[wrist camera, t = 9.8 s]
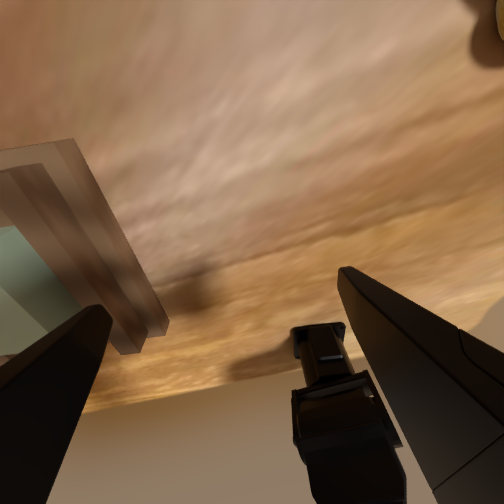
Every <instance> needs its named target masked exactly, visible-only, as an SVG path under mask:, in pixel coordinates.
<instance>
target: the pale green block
mask: <svg viewBox="0 0 504 504" xmlns="http://www.w3.org/2000/svg"><path fill="white" fill-rule="evenodd" d="M82 309H83V308H82V307H81V306H80V304H79V303H78V302H77V301H76V300H75V298H74V297H73V296H72V295H71V293H70V292H69V291H68V290H67V289H66V287H65V286H64V285H63V284H62V282H61V281H60V280H59V279H58V278H57V276H56V275H55V274H54V273H53V272H52V270H51V269H50V268H49V267H48V265H47V264H46V263H45V262H44V261H43V259H42V258H41V257H40V256H39V254H38V253H37V252H36V251H35V250H34V248H33V247H32V246H31V245H30V244H29V242H28V241H27V240H26V239H25V237H24V236H23V235H22V234H21V233H20V231H19V230H18V229H17V228H16V227H15V226H8V227H1V228H0V356H2V355H10V354H18V353H20V352H22V351H23V350H24V349H26V348H27V347H29V346H30V345H32V344H33V343H35V342H36V341H37V340H39V339H40V338H42V337H43V336H45V335H46V334H48V333H49V332H51V331H52V330H53V329H55V328H56V327H58V326H59V325H61V324H62V323H64V322H65V321H66V320H68V319H69V318H71V317H72V316H74V315H75V314H77V313H78V312H79V311H81V310H82Z"/></svg>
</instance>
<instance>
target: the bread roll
mask: <svg viewBox="0 0 504 504" xmlns="http://www.w3.org/2000/svg"><path fill="white" fill-rule="evenodd" d="M496 20H497V26H498V32H499V34H500V37H501V39H502V40H503V41H504V0H497V2H496Z"/></svg>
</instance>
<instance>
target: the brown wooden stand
mask: <svg viewBox="0 0 504 504" xmlns="http://www.w3.org/2000/svg"><path fill="white" fill-rule="evenodd" d="M8 226H15V227H16V228H17V229H18V230H19V231H20V233H21V234H22V235H23V236H24V237H25V239H26V240H27V241H28V242H29V244H30V245H31V246H32V247H33V248H34V250H35V251H36V252H37V253H38V254H39V256H40V257H41V258H42V259H43V261H44V262H45V263H46V264H47V265H48V267H49V268H50V269H51V270H52V272H53V273H54V274H55V275H56V276H57V278H58V279H59V280H60V281H61V282H62V284H63V285H64V286H65V287H66V289H67V290H68V291H69V292H70V293H71V295H72V296H73V297H74V298H75V300H76V301H77V302H78V303H79V304H80V306H81V307H82V308H83V309H84V308H85V307H87V306H89V305H93V304H102V305H103V306H104V307H105V309H106V310H107V311H108V312H109V314H110V315H111V316H112V318H113V325H112V328H111V332H110V335H109V339H108V342H107V343H109V342H111V343H112V345H113V346H114V347H115V348H116V349H117V351H118V352H119V353H120V354H121V355H126V354H135V353H140V352H141V349H142V347H143V344H144V342H145V340H146V338H151V337H159V336H165V334H166V331H167V328H168V325H169V322H170V321H169V319H168V317H167V315H166V313H165V311H164V309H163V308H162V306H161V304H160V302H159V300H158V298H157V296H156V294H155V292H154V290H153V289H152V287H151V285H150V283H149V281H148V279H147V277H146V275H145V273H144V271H143V270H142V268H141V266H140V264H139V262H138V260H137V258H136V256H135V254H134V252H133V251H132V249H131V247H130V245H129V243H128V241H127V239H126V237H125V235H124V233H123V232H122V230H121V228H120V226H119V224H118V222H117V220H116V218H115V216H114V214H113V213H112V211H111V209H110V207H109V205H108V203H107V201H106V199H105V197H104V195H103V194H102V192H101V190H100V188H99V186H98V184H97V182H96V180H95V178H94V176H93V175H92V173H91V171H90V169H89V167H88V165H87V163H86V161H85V159H84V157H83V156H82V154H81V152H80V150H79V148H78V146H77V144H76V142H75V140H74V139H67V140H61V141H54V142H48V143H42V144H36V145H30V146H24V147H18V148H12V149H5V150H0V228H1V227H8ZM18 354H19V353H18ZM16 355H17V354H10V355H2V356H0V366H1V365H3V364H4V363H6V362H7V361H9V360H10V359H11V358H13V357H14V356H16Z"/></svg>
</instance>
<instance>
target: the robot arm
mask: <svg viewBox="0 0 504 504" xmlns="http://www.w3.org/2000/svg"><path fill="white" fill-rule="evenodd" d="M337 287H338V291H339V294H340V297H341V300H342V303H343V305H344V308H345V311H346V314H347V317H348V319H349V322H350V325H351V328H352V330H353V332H354V334H355V336H356V338H357V340H358V342H359V344H360V346H361V348H362V351H363V353H364V355H365V357H366V358H367V361H368V363H369V365H370V366H371V369H372V371H373V373H374V375H375V377H376V379H377V381H378V383H379V385H380V387H381V389H382V391H383V393H384V395H385V397H386V399H387V401H388V403H389V405H390V407H391V409H392V411H393V413H394V415H395V417H396V419H397V421H398V423H399V425H400V427H401V430H402V432H403V433H404V436H405V438H406V440H407V442H408V444H409V446H410V448H411V450H412V452H413V454H414V456H415V458H416V460H417V462H418V464H419V466H420V468H421V470H422V472H423V474H424V476H425V478H426V480H427V482H428V484H429V486H430V488H431V489H432V490H433V491H432V493H433V494H434V497H435V499H436V501H437V503H438V504H504V353H503V352H501V351H499V350H497V349H496V348H494V347H492V346H490V345H488V344H486V343H485V342H483V341H481V340H479V339H477V338H476V337H474V336H472V335H470V334H469V333H467V332H465V331H464V330H462V329H458V328H457V327H456V326H455V325H453V324H451V323H449V322H448V321H446V320H444V319H442V318H441V317H439V316H437V315H435V314H434V313H432V312H430V311H428V310H427V309H425V308H423V307H421V306H420V305H418V304H416V303H415V302H413V301H411V300H409V299H408V298H406V297H404V296H402V295H401V294H399V293H397V292H395V291H394V290H392V289H390V288H388V287H387V286H385V285H383V284H381V283H380V282H378V281H376V280H374V279H373V278H371V277H369V276H367V275H366V274H364V273H362V272H361V271H359V270H357V269H355V268H354V267H351V266H347V267H341V268H339V270H338V281H337ZM112 325H113V318H112V316H111V315H110V314H109V312H108V311H107V310H106V309H105V307H104V306H103V305H102V304H93V305H89V306H87V307H85V308H84V309H82V310H81V311H79V312H78V313H77V314H75V315H74V316H72V317H71V318H69V319H68V320H66V321H65V322H64V323H62V324H61V325H59V326H58V327H56V328H55V329H53V330H52V331H51V332H49V333H48V334H46V335H45V336H43V337H42V338H40V339H39V340H37V341H36V342H35V343H33V344H32V345H30V346H29V347H27V348H26V349H24V350H23V351H22V352H20V353H19V354H17V355H16V356H14V357H13V358H11V359H10V360H9V361H7V362H6V363H4V364H3V365H1V366H0V504H46V502H47V500H48V497H49V494H50V492H51V489H52V487H53V484H54V482H55V479H56V477H57V474H58V472H59V469H60V467H61V464H62V461H63V459H64V456H65V454H66V451H67V449H68V446H69V444H70V441H71V439H72V436H73V434H74V431H75V429H76V426H77V423H78V421H79V418H80V416H81V413H82V411H83V408H84V406H85V403H86V401H87V398H88V396H89V393H90V390H91V388H92V385H93V383H94V380H95V378H96V375H97V373H98V370H99V368H100V365H101V362H102V359H103V356H104V352H105V349H106V345H107V342H108V339H109V335H110V332H111V328H112ZM345 329H346V326H345V324H344V323H332V324H324V325H315V326H307V327H298V328H295V329H293V338H294V355H295V358H296V359H300V360H301V364H302V369H303V373H304V377H305V382H306V386H307V387H305V388H302V389H298V390H296V389H295V390H292V398H291V403H292V404H291V405H292V424H293V443H294V445H295V446H296V447H297V448H298V451H299V454H300V457H301V459H302V461H303V463H304V464H305V465H306V466H307V471H308V475H309V482H310V488H311V492H312V496H313V498H314V499H315V501H316V503H317V504H407V482H406V480H407V479H406V474H405V471H404V469H403V466H402V464H401V462H400V460H399V458H398V455H397V453H396V451H395V448H400V447H403V445H402V442H401V440H400V438H399V436H398V433H397V431H396V429H395V427H394V425H393V423H392V421H391V419H390V416H389V414H388V412H387V410H386V408H385V406H384V404H383V402H382V399H381V397H380V395H379V393H378V391H377V389H376V387H375V385H374V383H373V381H372V379H371V377H370V375H369V372H368V370H363V371H362V372H360V373H356V374H355V371H354V369H353V366H352V364H351V362H350V359H349V357H348V355H347V352H346V350H345V347H344V345H343V341H344V335H345ZM371 395H373V396H374V397H372V398H371V397H369V396H371Z"/></svg>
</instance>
